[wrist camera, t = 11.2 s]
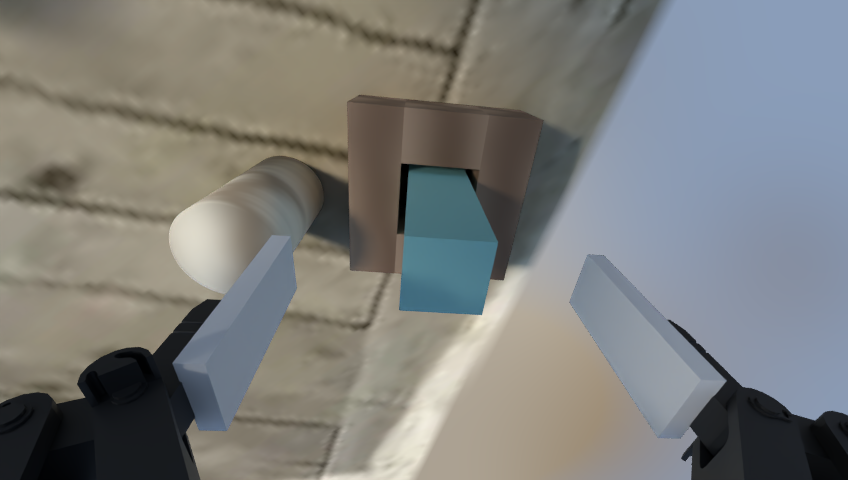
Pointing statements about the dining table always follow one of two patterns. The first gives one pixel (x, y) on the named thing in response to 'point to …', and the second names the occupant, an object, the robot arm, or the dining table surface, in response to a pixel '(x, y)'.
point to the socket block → (434, 146)
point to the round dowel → (245, 220)
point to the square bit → (445, 243)
